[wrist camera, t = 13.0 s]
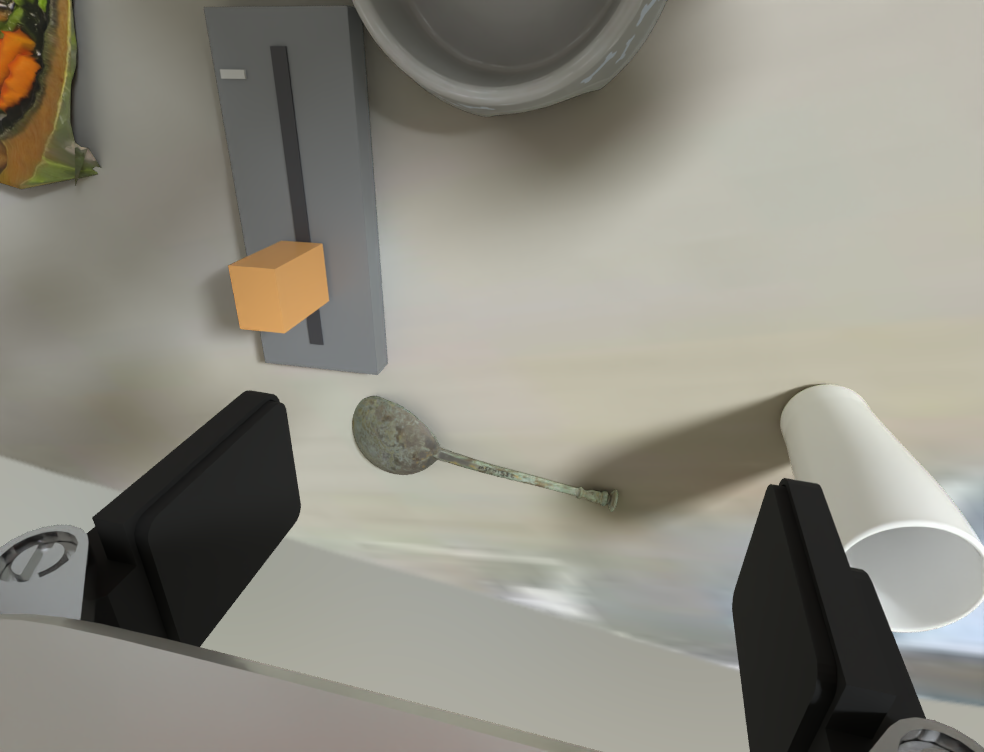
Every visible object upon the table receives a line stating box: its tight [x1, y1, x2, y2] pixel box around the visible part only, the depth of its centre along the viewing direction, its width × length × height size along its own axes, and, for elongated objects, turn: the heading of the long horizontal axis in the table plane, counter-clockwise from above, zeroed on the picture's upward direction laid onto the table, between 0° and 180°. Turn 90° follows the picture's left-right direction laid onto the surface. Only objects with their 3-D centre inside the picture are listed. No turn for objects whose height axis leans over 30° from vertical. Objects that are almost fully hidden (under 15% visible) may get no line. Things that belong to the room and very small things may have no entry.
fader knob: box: [228, 241, 329, 333], centre depth 39 cm, size 4×3×6 cm
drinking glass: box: [780, 384, 984, 633], centre depth 34 cm, size 7×7×15 cm
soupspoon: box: [352, 396, 618, 512], centre depth 47 cm, size 22×3×7 cm
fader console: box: [204, 6, 388, 375], centre depth 41 cm, size 23×9×2 cm, turn 0°
